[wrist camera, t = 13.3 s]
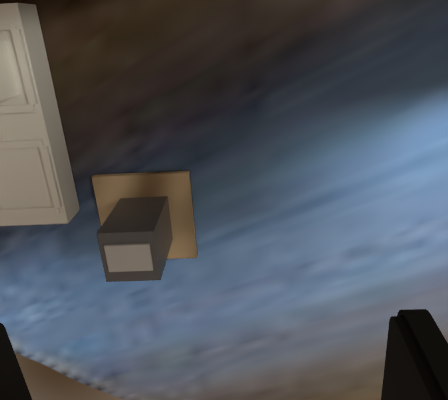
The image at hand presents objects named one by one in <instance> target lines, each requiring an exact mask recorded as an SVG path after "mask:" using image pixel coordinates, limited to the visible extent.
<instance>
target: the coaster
mask: <svg viewBox="0 0 448 400" xmlns="http://www.w3.org/2000/svg"><path fill="white" fill-rule="evenodd" d="M92 182H93V187H94V192H95V197H96V202H97V207H98V212H99V218H100V223H101V226H102V225H103V223H104V222H105V220H106V219H107V217H108V216H109V214H110V213H111V211H112V210H113V208H114V207H115V205H116V204H117V202H118V201H119V199H120V198H140V197H164V196H168V203H169V211H170V219H171V228H172V236H173V240H172V243H171V247H170V250H169V253H168V257H167V259H179V258H197V245H196V235H195V224H194V214H193V203H192V193H191V182H190V172H189V171H167V172H144V173H121V174H99V175H93V176H92Z"/></svg>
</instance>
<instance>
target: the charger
mask: <svg viewBox="0 0 448 400" xmlns="http://www.w3.org/2000/svg"><path fill="white" fill-rule="evenodd" d="M97 237H98V242H99V247H100V252H101V257H102V262H103V267H104V272H105V277H106V281H107V282H112V281H144V280H161V277H162V273H163V270H164V267H165V263H166V260H167V257H168V253H169V250H170V247H171V243H172V240H173V236H172V228H171V219H170V211H169V203H168V196H164V197H140V198H120V199H119V201H118V202H117V204H116V205H115V207H114V208H113V210H112V211H111V213H110V214H109V216H108V217H107V219H106V220H105V222H104V223H103V225H102V226H101V228H100V229H99V231H98V232H97Z"/></svg>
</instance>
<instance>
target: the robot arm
mask: <svg viewBox="0 0 448 400" xmlns="http://www.w3.org/2000/svg"><path fill="white" fill-rule="evenodd" d="M0 400H32V398H31V395H30V393H29V390H28V388H27V385H26V382H25V379H24V377H23V374H22V372H21V369H20V366H19V364H18V361H17V358H16V356H15V353H14V350H13V348H12V345H11V342H10V340H9V337H8V334H7V332H6V329H5V327H4V325H3V324H2V323H0ZM381 400H448V343H447V341H446V340H445V338H444V336H443V335H442V333H441V331H440V330H439V328H438V326H437V324H436V323H435V321H434V319H433V318H432V316H431V314H430V313H429V312H428V310H426V309H417V310H399V312H398V315H397V316H394V317H391V318H390V321H389V331H388V340H387V350H386V359H385V369H384V378H383V388H382V397H381Z"/></svg>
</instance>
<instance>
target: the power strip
mask: <svg viewBox="0 0 448 400" xmlns="http://www.w3.org/2000/svg"><path fill="white" fill-rule="evenodd" d="M79 210H80V207H79V203H78V198H77V193H76V189H75V184H74V180H73V175H72V170H71V166H70V161H69V156H68V152H67V147H66V142H65V138H64V133H63V129H62V124H61V119H60V115H59V110H58V105H57V101H56V96H55V91H54V87H53V82H52V78H51V73H50V68H49V64H48V59H47V54H46V50H45V45H44V40H43V36H42V31H41V27H40V22H39V17H38V13H37V8H36V4H25V3H6V4H0V226H15V225H42V224H68V223H69V222H70V221H71V220H72V218H73V217H74V216H75V215H76V214H77V213H78V211H79Z"/></svg>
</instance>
